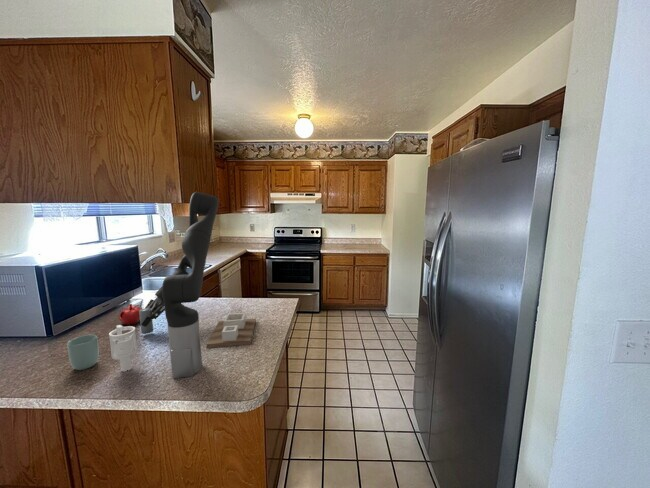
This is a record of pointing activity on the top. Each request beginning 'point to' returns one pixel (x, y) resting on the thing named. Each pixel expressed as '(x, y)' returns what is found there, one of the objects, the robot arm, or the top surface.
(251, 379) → the top surface
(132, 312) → the pomegranate
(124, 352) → the white tall rounded piece
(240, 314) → the socket fittings
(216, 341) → the board
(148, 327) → the capsule
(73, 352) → the cup
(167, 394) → the top surface
